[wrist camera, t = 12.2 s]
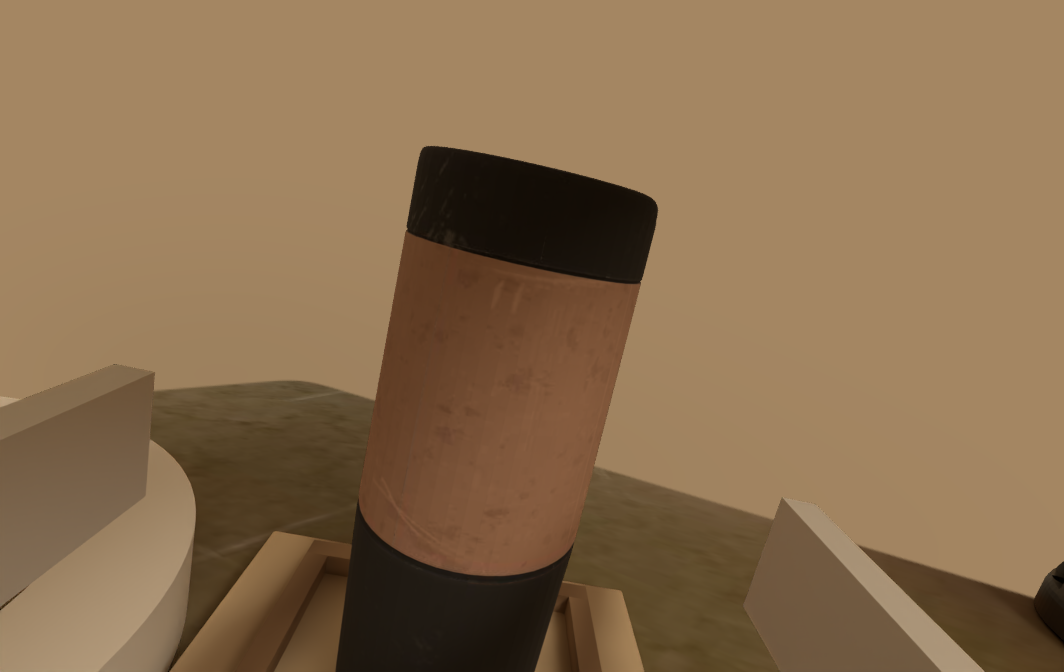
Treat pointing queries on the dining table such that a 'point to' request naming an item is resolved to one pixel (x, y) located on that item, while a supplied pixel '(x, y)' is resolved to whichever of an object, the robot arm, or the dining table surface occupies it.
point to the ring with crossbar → (112, 589)
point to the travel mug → (488, 410)
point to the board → (317, 608)
